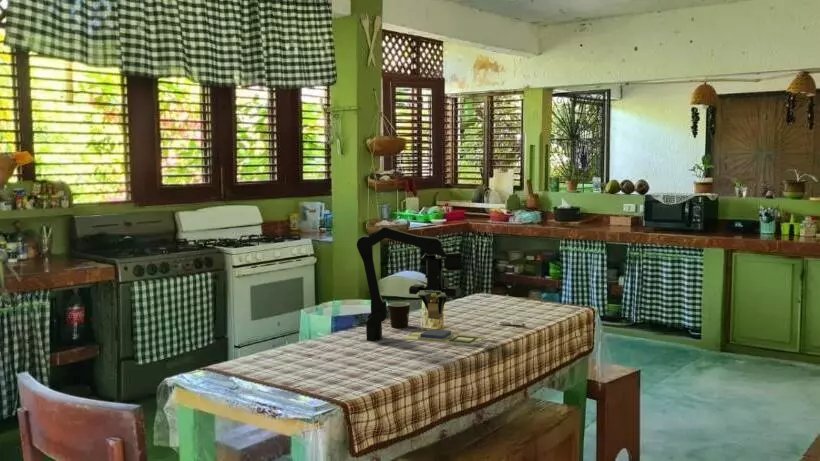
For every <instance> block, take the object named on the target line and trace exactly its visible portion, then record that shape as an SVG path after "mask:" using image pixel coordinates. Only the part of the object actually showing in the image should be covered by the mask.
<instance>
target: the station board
mask: <svg viewBox="0 0 820 461" xmlns="http://www.w3.org/2000/svg"><path fill="white" fill-rule="evenodd" d="M424 332H425V331H423V330H422V331H421V330H420V331H419V330H417V331H414V332H412V333H410V334H408V335H406V336H404V337H402V338H401V340H406V341H414V342H417V341H418V342H426V343H427V342H428V343H439V344H450V345H451V344H452V345H462V346H471V347H472V346H474V345H475V344H477V343H479V342H480V341H482V340H483V339H485V338H486V336H483V335H482V336H481V335H469V334H459V333H458V334H457V333H454V335H453V336H452V337H450V338H448V339H446V340H445V341H432V340H421V339H418V337H419V336H420V334H422V333H424Z"/></svg>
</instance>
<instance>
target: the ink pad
mask: <svg viewBox="0 0 820 461" xmlns="http://www.w3.org/2000/svg"><path fill="white" fill-rule="evenodd" d="M423 332H424V333H422V334H420V336H419V337H418V339H421V340H432V341H445V340H446V339H448V338H450V337H452V336H453V335H454V334H455V333H454V332H453V333H452V331H451V330H444V329H433V328H431V329H428V330H426V331H423Z"/></svg>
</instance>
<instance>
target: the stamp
mask: <svg viewBox="0 0 820 461" xmlns="http://www.w3.org/2000/svg"><path fill="white" fill-rule="evenodd" d="M442 318H443V313H442V314H439V301H438V298H432V299H431V302H430V303H428V310H427V319H431V320H439V319H442Z"/></svg>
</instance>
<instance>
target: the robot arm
mask: <svg viewBox="0 0 820 461" xmlns="http://www.w3.org/2000/svg"><path fill="white" fill-rule="evenodd" d="M385 239H389V240H392V241H397V242H398V243H399V242H400V243H403V244H407V245H410V246H414V247H416V248H419V249H421V250H423V251H424V254H423V256H421V260H422V261H426V264H425V265H426V275H425V276H424V277H425V279H426V285H425V284H413V285H410V286H409V287H408V294H409V295H417V294H418V295H417V296H418V297H419V298H420V299H421V301H422V302H423V303H424V305H425V308H426V310H427V311H428V303H430V302H432V300H431V297H432V294H440V295H439V296H438V297H437V299H438V302H439V314H442V315H443V310H444V307H445V305H446V302H447V300H448V299H449V297H451V298H452V297H458V296H460V295H461V294H462V289H461V287H460V286H449V281H450V280H449V278H446V277H445V275H444V274H445V273H443V269H445V270H446V272H462V271H463V260H462V259H463V258H462V252H449V253H447V251H446V250H445V249H444V248H443V244H442V242H441V240H440V238H438V237H436V236H427V235H417V234H413V233H409V232H405V231H402V230H399V229H395V228H391V227H389V226H382V227H381V228H380V229H377V230H376V231H373V232H372V233H370V234H369V235H368V234H364V235H361V236H360V237H359V238H358V240H357V241H356V248H357V251H358V254H359V256H360V258H361V260H362V262H363V266H364V272H365V276H366V281H367V287H368V290H369V295H370V296H369V297H370V314H368V315H367V317H366V320H365V331H366V334H365V335H366V341H367V342H377V341H381V340H382V339H383V324H382V323H383V322H384V321H385V320H386V319H387V314H388V313H389V307H388V306H387V305H388V304H387V298H384V299H383V298H382V295H381V289H380V286H379V279H378V277H377V270H376V265H375V261H374V246H375V245H377V244H378V243H380V242H382V241H384V240H385ZM426 252H427V253H428V254H427V253H426ZM437 256H439V257H437Z"/></svg>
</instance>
